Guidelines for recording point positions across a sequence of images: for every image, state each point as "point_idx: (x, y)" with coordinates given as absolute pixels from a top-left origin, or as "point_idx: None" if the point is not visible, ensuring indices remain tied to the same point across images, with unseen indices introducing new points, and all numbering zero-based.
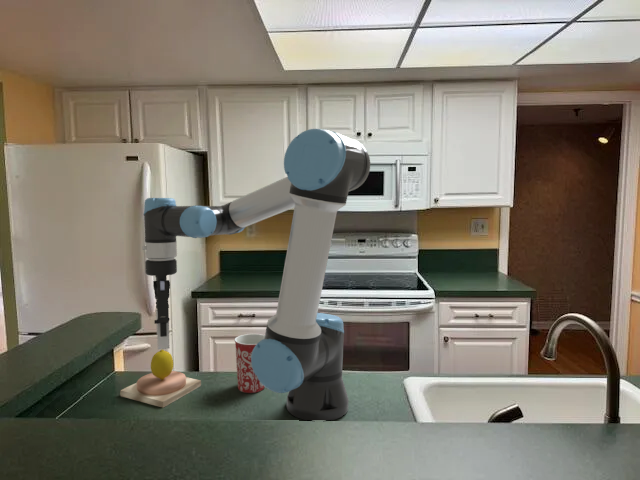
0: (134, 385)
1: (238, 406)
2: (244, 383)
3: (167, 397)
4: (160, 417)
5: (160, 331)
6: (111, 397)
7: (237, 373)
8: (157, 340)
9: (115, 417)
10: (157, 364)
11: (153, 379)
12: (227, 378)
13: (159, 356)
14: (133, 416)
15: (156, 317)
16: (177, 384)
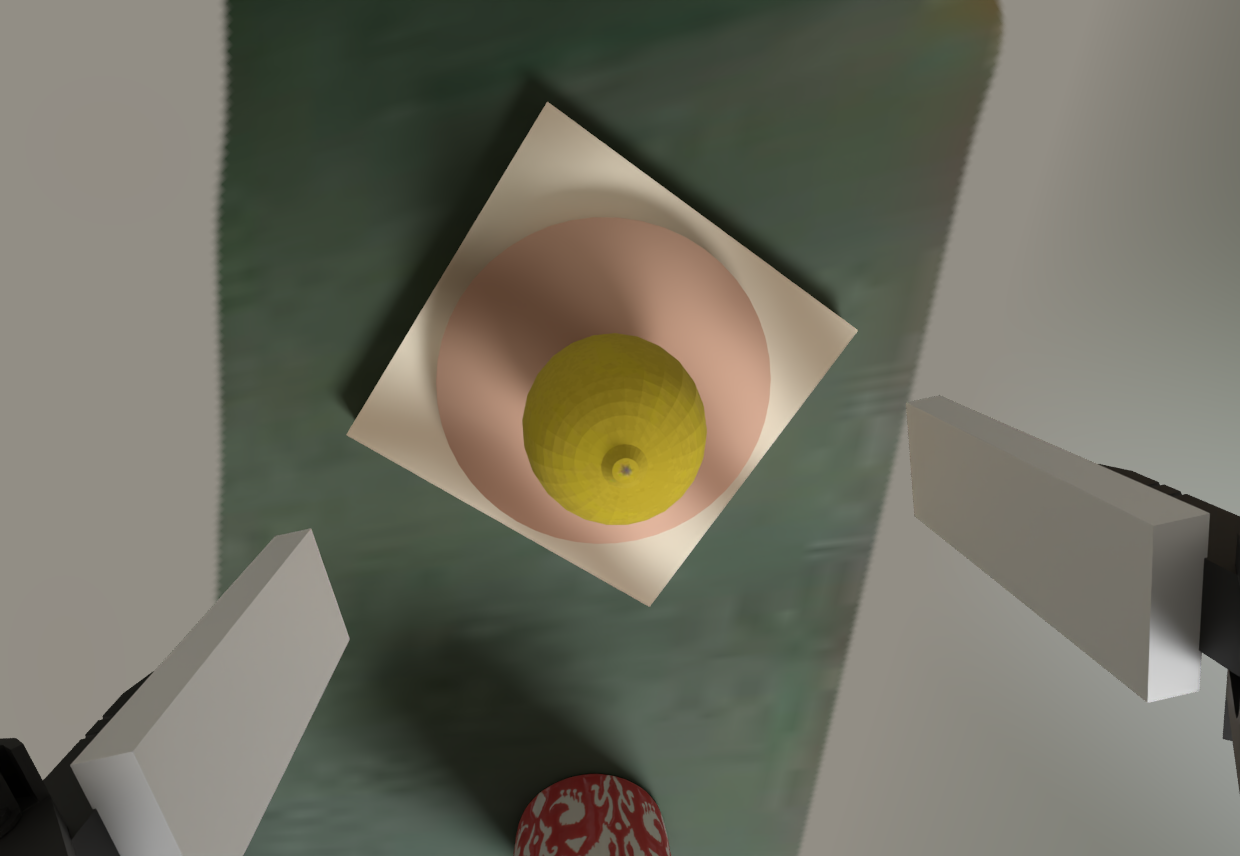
0: (624, 189)
1: (363, 787)
2: (520, 849)
3: (406, 450)
4: (234, 430)
5: (93, 730)
6: (533, 46)
7: (570, 850)
8: (242, 584)
9: (229, 158)
10: (526, 415)
11: (617, 331)
12: (732, 713)
13: (554, 446)
14: (244, 270)
15: (1048, 476)
16: (511, 507)
